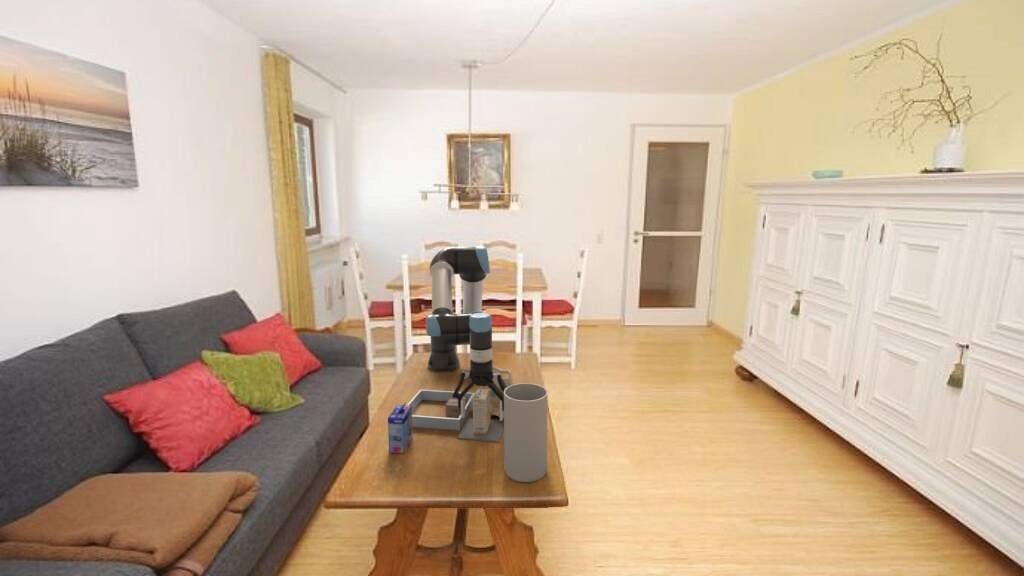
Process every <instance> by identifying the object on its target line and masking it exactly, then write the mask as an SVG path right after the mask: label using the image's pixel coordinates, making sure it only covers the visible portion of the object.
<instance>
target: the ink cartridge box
mask: <svg viewBox="0 0 1024 576" xmlns="http://www.w3.org/2000/svg"><path fill="white" fill-rule="evenodd" d="M412 415H413V411H412V406H410V405H407V402H404V404H397V405H395V407H394V408H393V410H392V412H391V413H390V414H389V415H388V417H387V433H388V434H387V435H388V453H393V454H394V453H395V454H405V453H406V451H407V450H408V447H409V446H410V444H411V442H412V440H413V427H412Z"/></svg>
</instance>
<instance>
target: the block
mask: <svg viewBox="0 0 1024 576" xmlns="http://www.w3.org/2000/svg"><path fill="white" fill-rule="evenodd" d="M460 415H461V408H459V407H458V400H456V399H449V401H446V403H445V418H459V416H460Z"/></svg>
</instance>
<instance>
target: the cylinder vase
mask: <svg viewBox="0 0 1024 576" xmlns="http://www.w3.org/2000/svg"><path fill="white" fill-rule="evenodd" d="M548 393H549V392H548V389H547V388H545V387H544V386H543V385H539V384H536V383H529V382H528V383H525V382H523V383H522V382H521V383H515V384H514V383H513V385H511V386H509V387H507V388H506V389H505V390H504V418H503V421H504V428H503V435H504V437H503V439H504V440H503V441H504V442H503V443H504V445H503V446H504V447H503V448H504V451H503V453H504V455H503V456H504V461H503V462H504V463H503V464H504V465H503V466H504V473H505V474H506V476H507V477H508V478H509V479H511V480H513V481H516V482H519V483H532V482H537V481H539V480H541V479H543V477H544V476H545V475H546V473H547V470H548V462H547V461H548V402H549V401H548V398H549V397H548Z"/></svg>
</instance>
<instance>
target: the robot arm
mask: <svg viewBox="0 0 1024 576" xmlns="http://www.w3.org/2000/svg"><path fill="white" fill-rule="evenodd" d="M490 273H491V269H490V261H489V253H488V249H487V247H486V246H483V245H480V246H478V245H475V246H473V245H472V246H468V245H467V246H447V247H445V248H443V249H441V250H440V251H438V252H437V253H436V254H435V256H434V257H433V258H432V259H431V262H430V263H429V275H430V277H431V314H429V315H426V317H425V329H426V335H427V336H429V337H430V353H429V357H428V358H429V359H428V361H427V368H428V369H429V370H431V371H433V372H438V373H440V372H441V373H445V372H451V371H455V370H457V369H459V368H460V366H461V365H460V364H461V363H460V359H459V356H458V353H457V350H456V349H457V347H456V346H469V359H470V360H469V363H470V365H469V368H470V369H469V370H470V371H469V372H468V371H466V370H463V371H462V372H461V375H460V379H459V380H458V381H459V382H458V384H457V386H456V388H455V390H454V391H453V392H454V393H453V398H457V399H458V407H459V408H461V418H464V416H465V406H466V403H465V397H463V396H464V395H465V394H466V393H467V392H468V393H469V391H470V390H471V389H472V387H473V386H474V385H475V386H476V387H481V386H485V387H486V386H488V387H489V388H491V390H492V391H493V392H494V393H495V394H496V395H497V397H498V398H499V399H500V400H501V401H500V417H499V420H500V421H503V420H504V418H503V411H504V394H503V393H504V390H505V389H506V388H507V386H506V385H505V383H504V381H503V379H502V377H503V374H502V373H501V372H500V373H499V372H498V373H497V374H493V372H494V370H493V368H492V365H493V321H492V318H493V317H492V315H491V314H489V313H485V312H483V311H482V306H483V281H484V280H485V279H486V278H487V275H488V274H490ZM454 275H459V278H460V280H462V313H454V310H453V309H454V308H453V287H452V277H453V276H454ZM468 377H469V378H470V380H471V381H470V382H469V383H468V384H467V385H466V387H465V388H464V389H463V390H462V391H461V388H462V387H463V384H464V383H465V380H466V379H468ZM493 378H495V379H496V380H498V383H499V385H500V387H501V389H502V391H503V393H502V392H501V391H500V389H499V388H498V387H497V386H496V385H495V383H494V381H493V380H492V379H493ZM458 392H461V393H460V394H459V393H458Z"/></svg>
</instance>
